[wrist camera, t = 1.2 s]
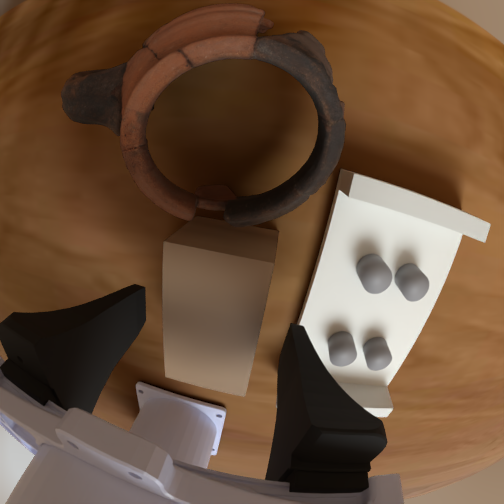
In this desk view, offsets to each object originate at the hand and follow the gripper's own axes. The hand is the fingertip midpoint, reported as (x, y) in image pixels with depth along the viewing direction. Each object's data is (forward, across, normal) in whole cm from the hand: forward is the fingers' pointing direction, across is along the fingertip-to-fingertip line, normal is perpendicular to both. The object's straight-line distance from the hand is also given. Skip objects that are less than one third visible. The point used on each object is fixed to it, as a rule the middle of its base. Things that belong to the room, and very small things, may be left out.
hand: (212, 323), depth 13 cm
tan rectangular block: (+4, 0, 0) cm, 4 cm away
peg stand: (+4, -8, -1) cm, 9 cm away
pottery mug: (+4, +2, -10) cm, 11 cm away
